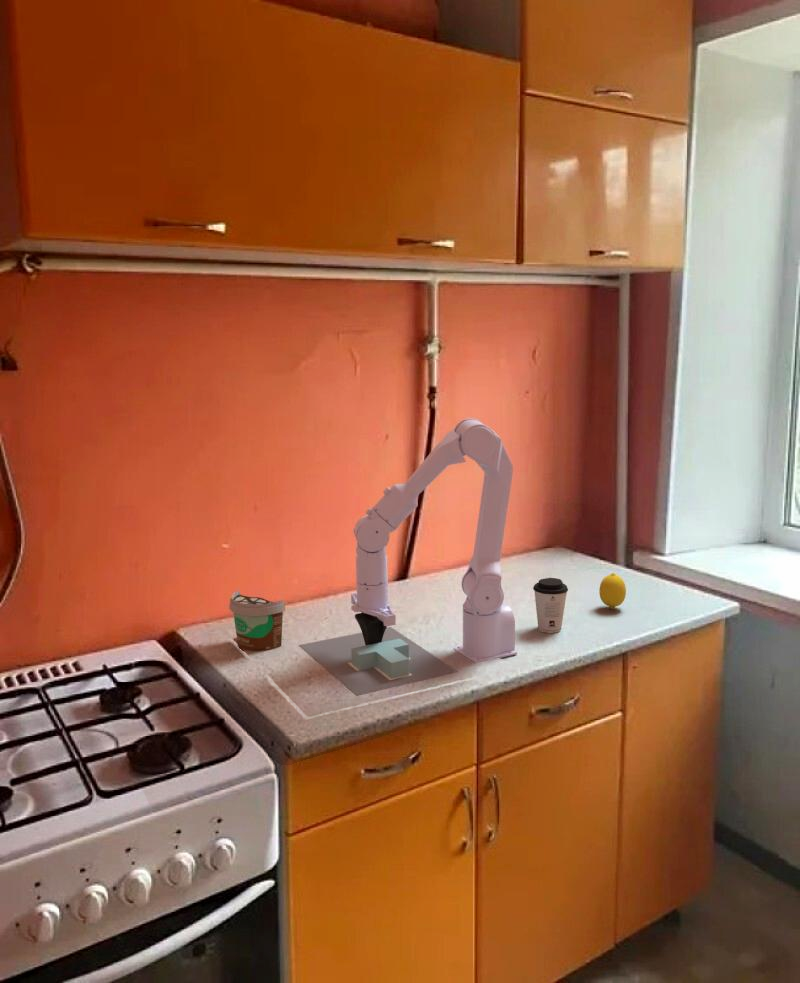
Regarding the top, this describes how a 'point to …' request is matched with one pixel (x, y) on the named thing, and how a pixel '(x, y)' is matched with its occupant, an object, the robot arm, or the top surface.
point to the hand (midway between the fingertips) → (373, 651)
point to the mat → (339, 664)
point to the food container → (257, 622)
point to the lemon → (612, 590)
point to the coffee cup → (550, 604)
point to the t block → (383, 657)
